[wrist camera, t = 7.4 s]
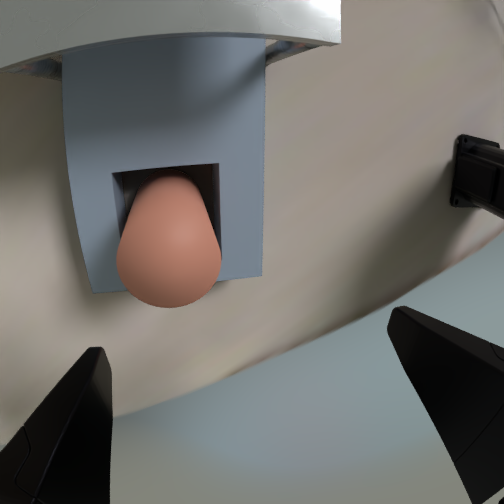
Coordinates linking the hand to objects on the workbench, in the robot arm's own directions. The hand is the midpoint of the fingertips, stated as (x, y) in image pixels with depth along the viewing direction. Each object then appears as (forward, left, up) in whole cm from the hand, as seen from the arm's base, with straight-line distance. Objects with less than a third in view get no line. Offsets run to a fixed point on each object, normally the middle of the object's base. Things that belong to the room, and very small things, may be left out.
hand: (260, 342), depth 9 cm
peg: (+2, -1, -12) cm, 12 cm away
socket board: (+2, -6, -12) cm, 14 cm away
